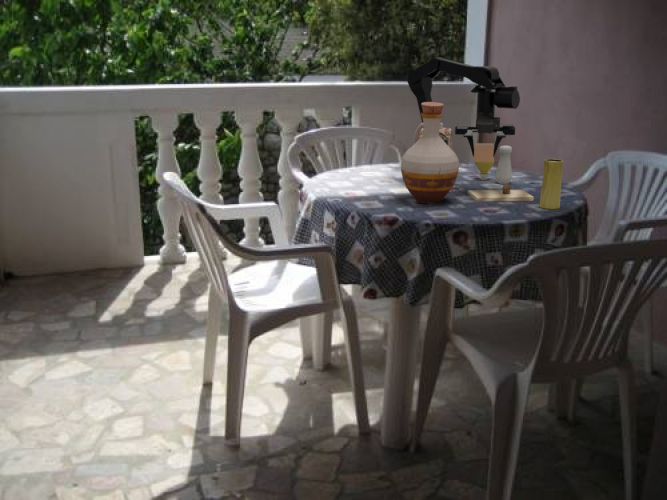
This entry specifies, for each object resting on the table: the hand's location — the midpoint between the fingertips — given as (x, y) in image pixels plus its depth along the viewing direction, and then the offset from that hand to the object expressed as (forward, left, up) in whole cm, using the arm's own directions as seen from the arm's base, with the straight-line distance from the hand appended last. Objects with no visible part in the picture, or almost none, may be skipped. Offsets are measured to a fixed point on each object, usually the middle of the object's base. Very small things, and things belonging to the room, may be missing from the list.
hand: (483, 156), depth 231 cm
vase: (+15, -21, -12) cm, 29 cm away
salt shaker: (+12, +15, -12) cm, 22 cm away
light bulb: (+7, +22, -12) cm, 26 cm away
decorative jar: (-7, +40, -12) cm, 42 cm away
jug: (-20, -9, -12) cm, 25 cm away
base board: (+4, -7, -12) cm, 15 cm away
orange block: (0, 0, -1) cm, 1 cm away
